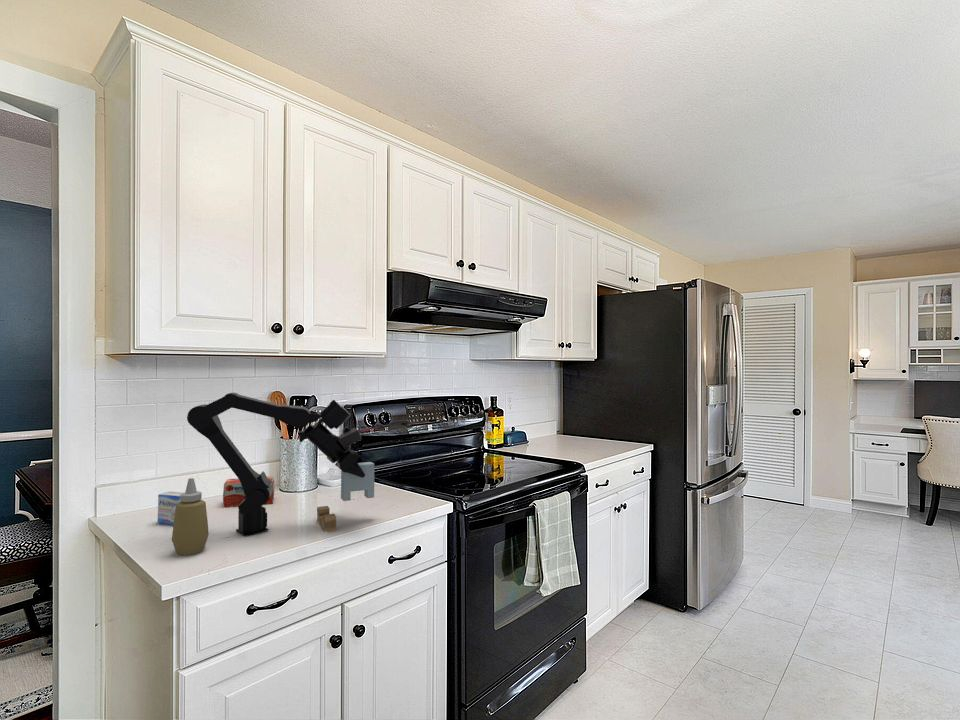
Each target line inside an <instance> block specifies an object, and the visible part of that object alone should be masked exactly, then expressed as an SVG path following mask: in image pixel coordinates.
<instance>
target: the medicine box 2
mask: <svg viewBox="0 0 960 720" xmlns="http://www.w3.org/2000/svg"><path fill="white" fill-rule="evenodd" d="M267 478H268V479H269V480H270V481H272V483H271V486H272V494H271V496H270V498H269V500H268V501H267V502H266V503H265V504H264V505H265V506H266V505H273V502H274V500H275V498H274V497H275V490H276V489H275V488H276V487H275V477H274V476H273V475H270V476H269V475H268V476H267ZM245 497H246V496H245V494H244V492H243V489H242V485H241V482H240V480H239V479H238V477H237V478H226V480H225V482H224V483H223V492H222V503H223V508H224V507H225V508H235V507H237V506H239V505H240V503H241V502H242V501H243V499H244V498H245Z"/></svg>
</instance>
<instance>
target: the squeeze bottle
mask: <svg viewBox="0 0 960 720" xmlns="http://www.w3.org/2000/svg"><path fill="white" fill-rule="evenodd" d="M185 487H186V488H185V492H181V493H182V494H181V495H180V501H181V502H180V503H178V504H177V505H176V509H175V517H174V525H172V526H173V527H172V535H171V542H172V545H173V548H174V549H175V552H176V554H177V555H178V556H179V555H180V556H188V555H194V554H199V553H200V552H202V551H204V549H205V546H206V543H207V542H208V539H209V535H210V532H209V524H208V523H209V522H208V514H207V513H208V512H207V503H206V501H204V500H202V496H203V495H202V491H198V490H197V486H196V482H195V479H194V478H193V477H191V478H188V480H187V483H186V486H185Z"/></svg>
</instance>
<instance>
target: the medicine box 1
mask: <svg viewBox="0 0 960 720" xmlns="http://www.w3.org/2000/svg"><path fill="white" fill-rule="evenodd" d="M182 493H183V492H180V491H166V492H161V493H159V494H158V495H157V500H158V501H157V524H158V525H160V526H161V525H162V526H173V525H174V517H175V509H176V505H177V504H178V503H180V502H181V501H180V495H181V494H182Z"/></svg>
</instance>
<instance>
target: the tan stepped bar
mask: <svg viewBox="0 0 960 720" xmlns="http://www.w3.org/2000/svg"><path fill="white" fill-rule="evenodd" d="M316 521H317V522H318V524H319V525H320V528H321V529H322V530H323V531H324V533H329V532H330V533H331V532H336V531H337V515H336V514H335V513H330V507H329V506H328V505H323V506H317V508H316Z"/></svg>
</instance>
